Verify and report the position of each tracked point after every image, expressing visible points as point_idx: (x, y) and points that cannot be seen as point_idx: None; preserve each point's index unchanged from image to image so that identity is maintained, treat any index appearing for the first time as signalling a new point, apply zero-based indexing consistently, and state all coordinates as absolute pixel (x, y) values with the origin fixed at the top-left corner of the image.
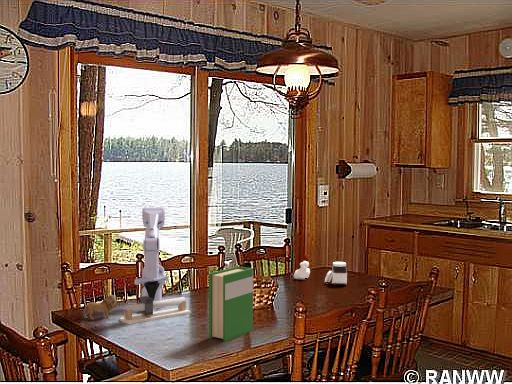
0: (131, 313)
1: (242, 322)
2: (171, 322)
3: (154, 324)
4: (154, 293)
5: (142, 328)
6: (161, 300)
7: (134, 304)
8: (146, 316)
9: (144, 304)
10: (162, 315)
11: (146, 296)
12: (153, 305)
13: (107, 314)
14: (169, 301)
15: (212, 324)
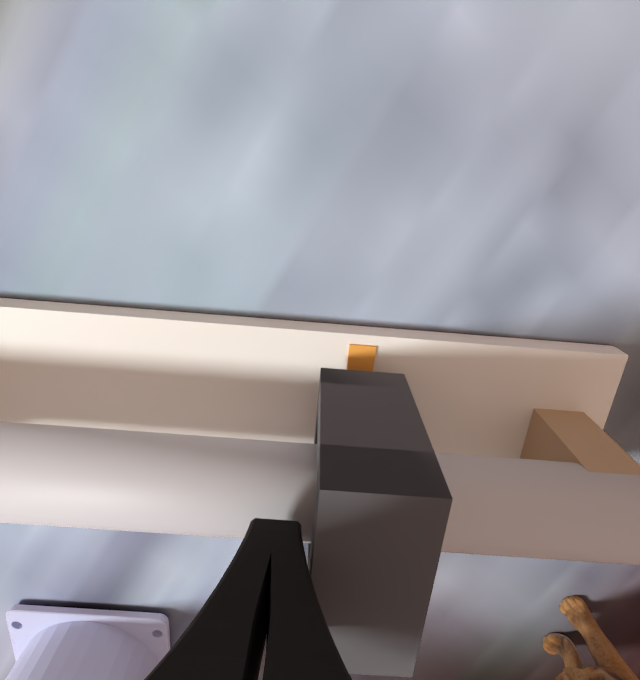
0: (575, 444)
1: None
2: (228, 101)
3: (427, 166)
4: (239, 597)
5: (631, 109)
6: (119, 509)
7: (536, 547)
8: None
9: None
10: (207, 342)
11: None
12: (280, 457)
13: (599, 630)
14: (14, 455)
15: None
